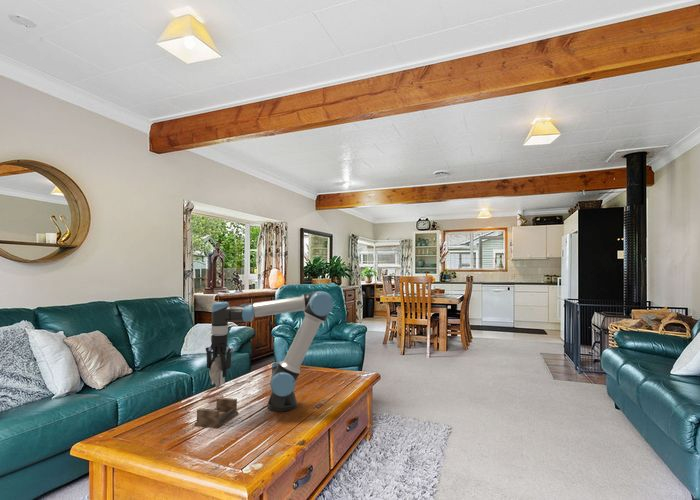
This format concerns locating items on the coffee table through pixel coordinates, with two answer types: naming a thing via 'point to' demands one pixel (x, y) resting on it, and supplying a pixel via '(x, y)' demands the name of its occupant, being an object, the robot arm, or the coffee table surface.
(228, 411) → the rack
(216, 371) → the stone tool
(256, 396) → the coffee table surface
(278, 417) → the coffee table surface
